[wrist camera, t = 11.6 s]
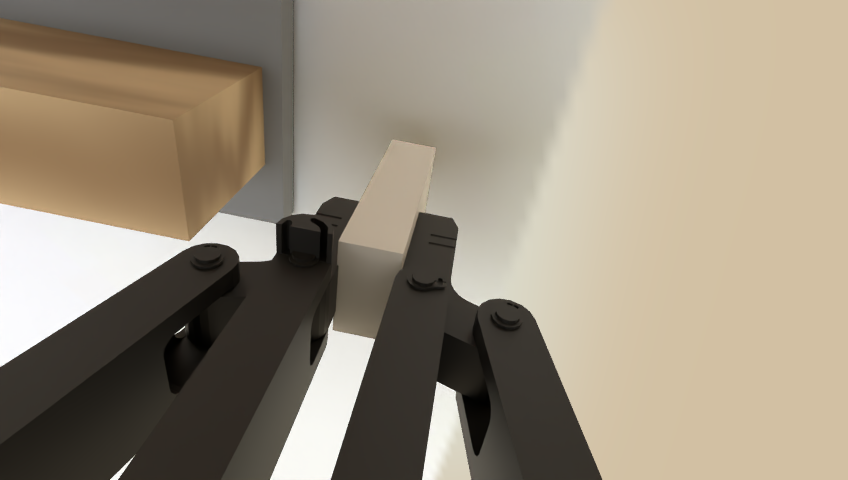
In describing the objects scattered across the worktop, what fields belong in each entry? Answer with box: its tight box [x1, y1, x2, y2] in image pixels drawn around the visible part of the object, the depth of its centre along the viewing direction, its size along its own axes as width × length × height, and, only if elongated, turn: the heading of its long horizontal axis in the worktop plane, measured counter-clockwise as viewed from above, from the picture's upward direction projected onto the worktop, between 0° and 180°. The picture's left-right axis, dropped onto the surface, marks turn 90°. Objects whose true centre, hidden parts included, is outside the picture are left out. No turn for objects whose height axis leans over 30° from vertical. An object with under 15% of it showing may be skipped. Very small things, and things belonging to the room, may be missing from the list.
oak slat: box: [0, 18, 265, 241], centre depth 17 cm, size 4×14×6 cm, turn 82°
